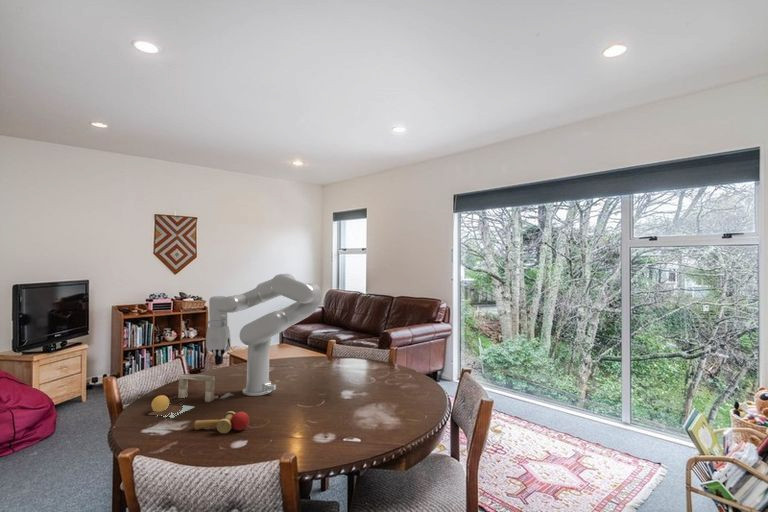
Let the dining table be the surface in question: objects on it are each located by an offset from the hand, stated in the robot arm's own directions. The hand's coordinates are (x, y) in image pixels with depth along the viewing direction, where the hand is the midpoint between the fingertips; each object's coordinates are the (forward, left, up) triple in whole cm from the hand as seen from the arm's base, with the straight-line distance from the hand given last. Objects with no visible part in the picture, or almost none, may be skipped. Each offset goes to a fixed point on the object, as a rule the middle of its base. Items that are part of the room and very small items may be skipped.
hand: (218, 364), depth 177 cm
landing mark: (+1, +27, -12) cm, 30 cm away
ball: (+4, +29, -9) cm, 30 cm away
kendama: (-29, +37, -12) cm, 48 cm away
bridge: (+1, +13, -12) cm, 18 cm away
